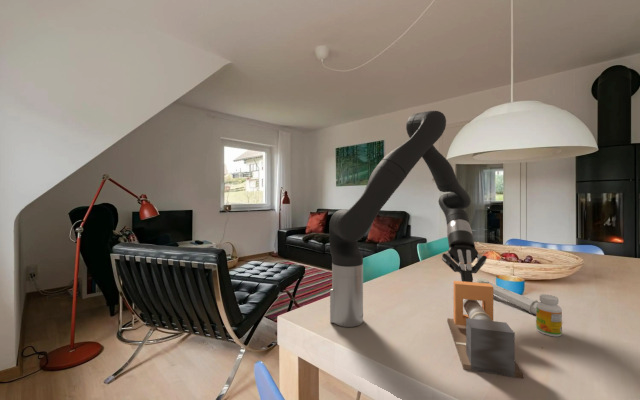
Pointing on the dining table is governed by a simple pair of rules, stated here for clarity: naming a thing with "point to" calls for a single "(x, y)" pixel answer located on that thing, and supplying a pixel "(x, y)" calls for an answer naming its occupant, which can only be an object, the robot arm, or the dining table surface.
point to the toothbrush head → (513, 297)
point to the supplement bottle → (549, 316)
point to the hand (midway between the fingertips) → (468, 283)
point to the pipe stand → (485, 343)
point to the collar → (471, 298)
